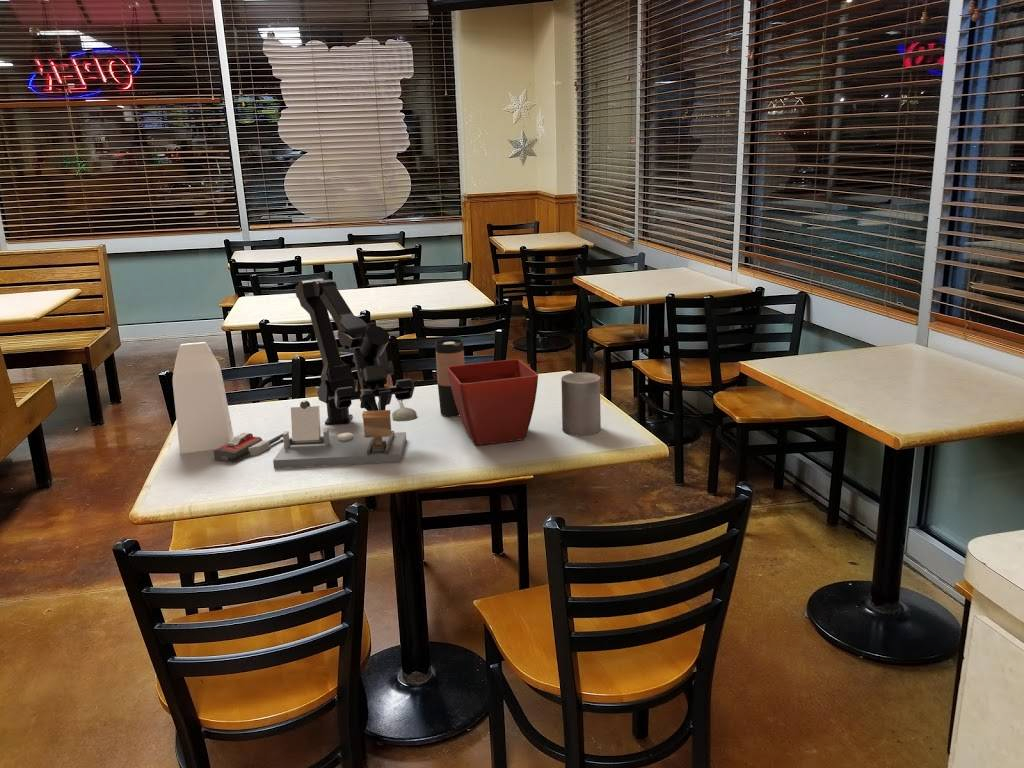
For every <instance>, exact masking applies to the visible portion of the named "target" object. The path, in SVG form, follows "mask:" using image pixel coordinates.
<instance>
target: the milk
mask: <svg viewBox="0 0 1024 768" xmlns="http://www.w3.org/2000/svg"><path fill="white" fill-rule="evenodd" d="M224 383H225V382H224V377H223V375H222V369H221V365H220V363H219V361H218V359H217V357H215V355H214V353H213V352H212V350H211V349H210V346H209V345H208V343H207V342H206V341H202V342H190V343H181V344H180V345H179V348H178V351H177V353H176V358H175V363H174V368H173V372H172V388H173V398H174V399H173V400H174V409H175V417H176V419H175V420H176V427H177V437H178V447H179V449H178V450H179V454H180V453H182V454H190V453H197V451H199V452H205V451H214V449H215V450H216V449H218V448H220V447H222V446H224V445H226V442H232V440H233V438H234V431H233V426H232V420H231V416H230V415H231V414H230V411H229V410H230V409H229V406H228V398H227V395H226V394H227V393H226V388H225V384H224ZM232 437H233V438H232Z"/></svg>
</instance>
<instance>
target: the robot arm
mask: <svg viewBox="0 0 1024 768" xmlns="http://www.w3.org/2000/svg"><path fill="white" fill-rule="evenodd" d="M294 291H295V297H296V298H297V299H298V303H299V304H300V307H301V308H303V310H305V311H306V312H307V313H308V314H309V316H310V321H311V325H312V327H313V331H314V334H315V335H314V336H315V338H316V342H317V345H318V349H319V353H320V357H321V360H322V361H321V362H322V365H323V366H322V371H321V374H320V381H321V382H320V385H319V387H318V390H317V392H316V393H317V397H318V401H321V402H322V403H325V404H326V411H327V412H326V413H327V418H326V420H325V422H324V424H325V425H337V424H349V423H350V422H351V420H352V419H353V414H351V413H350V411H349V409H350V406H351V405H352V403H353V402H352V401H354V400H355V401H356V400H359V402H360V405H359V407H360V409H365V411H378V410H386V406H387V405H390V404H391V402H392V397H393V395H394V396H395V399H396V400H397V399H398V400H397V401H399V400H401V401H403V400H404V401H405V400H410V399H412V398H413V395H414V390H415V387H416V386H415V384H414V381H413V380H412V379H411V378H404V379H396V381H395V385H393V386H386V385H387V383H388V381H387V378H388V376H393V375H394V373H395V369H394V365H393V361H392V360H387V361H384V362H383V364H380V359H379V358H380V357H381V356H382V355H383V353H384V351H385V349H386V347H387V345H388V343H389V341H390V337H391V336H390V333H389V332H388V331H387V330H386V329H385V328H383V327H381V326H379V325H377V323H376V322H370V323H369V322H368V323H366V322H365V321H364V319H362V318H360V317H358V316H356V315H354V313H353V312H352V310H351V308H350V307H349V305H348V304H347V302H346V300H345V298H344V297H343V295H342V294H341V293H340V291H339V290H338V285H337V283H336V281H335V280H332V279H323V278H321V277H320V278H312V279H305V280H299V282H298V283H297V285H296V286H295V287H294ZM329 314H330V315H329ZM330 316H331V318H332V320H333V321H334V323H335V324H336V327H337V329H338V330H337V339H338V341H339V343H340V345H341V346H342V347H343V349H344V350H352V349H353V350H354V349H355V350H354V351H353V354H352V363H353V364H354V365H355V368H356V372H357V377H358V383H359V385H360V390H356V386H357V385H356V383H357V382H356V379H355V377H354V374H353V371H352V367H351V365H350V364H348V363H347V364H346V363H345V362H344V361H343V360H342V358H341V354H340V351H339V347H338V343H337V340H336V337H335V332H334V329H333V326H332V322H331V318H330ZM376 398H378V402H377V399H376Z"/></svg>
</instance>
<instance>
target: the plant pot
mask: <svg viewBox="0 0 1024 768" xmlns="http://www.w3.org/2000/svg"><path fill="white" fill-rule="evenodd" d="M447 371H448V376H449V381H450V385H451V389H452V393H453V396H454V400H455V403H456V406H457V410H458V413H459V415H460V416H459V418H460V421H461V423H462V426H463V428H464V431H465V432H466V434H467V436H468V437H469V438H470V440H471V441H472V443H473V444H474V445H475V446H481V445H482V446H483V445H488V444H489V445H490V444H498V443H499V444H500V443H505V442H506V443H507V442H512V441H515V442H516V441H520V440H521V441H522V440H525V439H526V437H527V434H528V431H529V427H530V424H531V420H532V418H533V417H532V416H533V412H534V409H535V402H536V397H537V392H538V391H537V390H538V382H539V374H538V373H537V372H536V371H534V370H533V369H532V368H531V367H529V365H527V364H526V363H524V362H523V361H522V360H521V359H518V358H516V359H513V358H512V359H505V360H504V359H503V360H495V361H485V362H477V363H476V362H475V363H474V362H473V363H465V365H457V366H449V367H447Z"/></svg>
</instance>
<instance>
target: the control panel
mask: <svg viewBox="0 0 1024 768" xmlns="http://www.w3.org/2000/svg"><path fill="white" fill-rule="evenodd" d="M391 432H392V434H391V436H389V437H382V441H386V448H385V451H379V452H372V446H373V443H374V441H375V437H369V438H365V434H364V433H361V434H353V433H352V432H343V433H339V434H337V435H330V432H329V429H327V428H326V429H325V428H324V431H323V432H322V433H323V435H321V437H324V444H310V445H290V444H289V439H292V437H290V432H289V430H287V431H284V432H283V437H282V439H283V446H282V447H281V449H280V450H279V451H278V453H277V454H276V455H275V457H274V458H273V460H272V463H273V469H286V468H285V467H294V468H307V467H306V466H314V467H328V466H327V465H334V466H349V465H348V464H354V465H367V464H366V463H374V464H390V463H392V462H393V463H401V461H400V460H402V456H403V454H404V450H405V446H406V442H407V432H406V431H403V432H401V431H399V432H395V430H391ZM402 453H403V454H402ZM393 463H392V464H393ZM345 464H347V465H345ZM323 465H324V466H323ZM325 465H326V466H325Z"/></svg>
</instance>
